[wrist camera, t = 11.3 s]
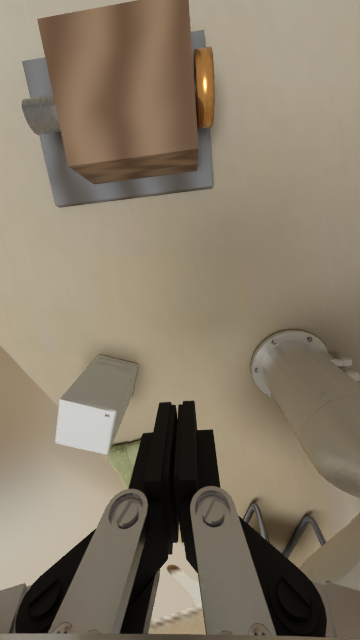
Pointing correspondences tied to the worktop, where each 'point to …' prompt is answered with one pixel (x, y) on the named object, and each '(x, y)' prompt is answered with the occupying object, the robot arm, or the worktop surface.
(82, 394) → the supplement box
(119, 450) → the washcloth
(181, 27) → the bearing block
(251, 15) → the worktop surface
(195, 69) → the shaft
